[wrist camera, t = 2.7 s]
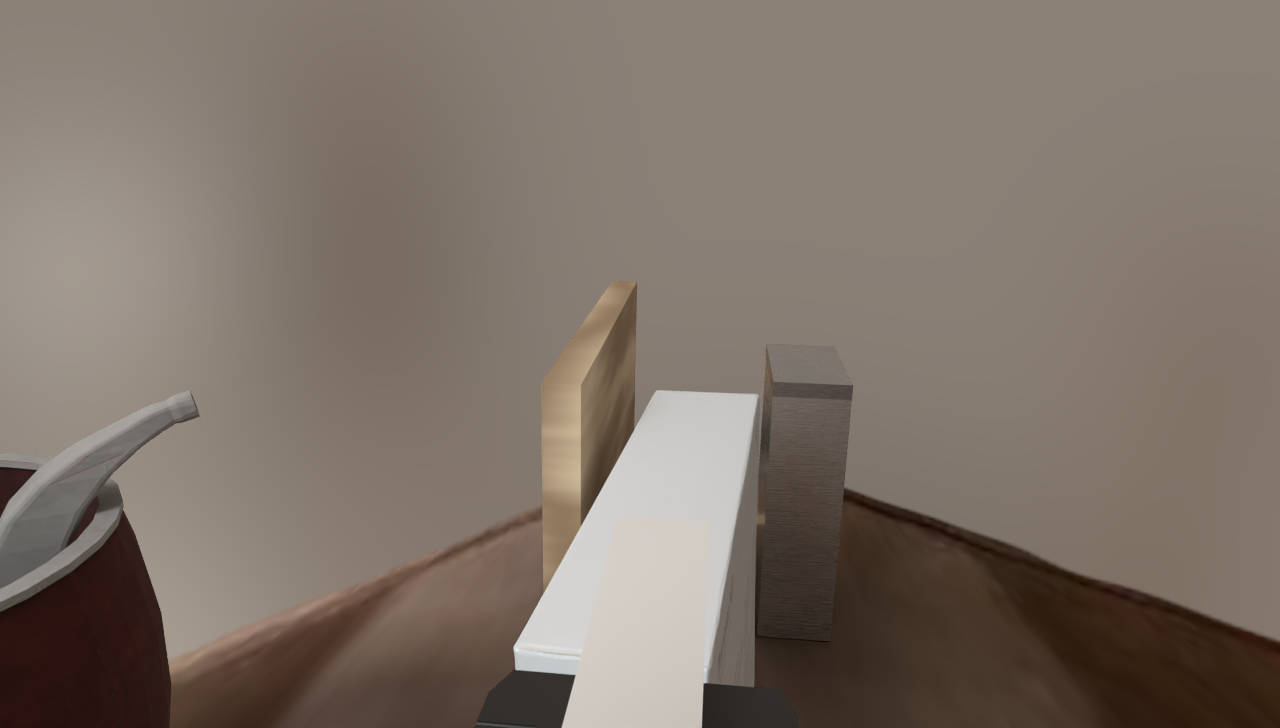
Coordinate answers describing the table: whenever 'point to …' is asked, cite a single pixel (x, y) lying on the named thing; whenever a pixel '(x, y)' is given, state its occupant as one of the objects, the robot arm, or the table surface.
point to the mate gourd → (80, 587)
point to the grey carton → (800, 490)
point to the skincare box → (674, 490)
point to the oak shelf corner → (586, 418)
